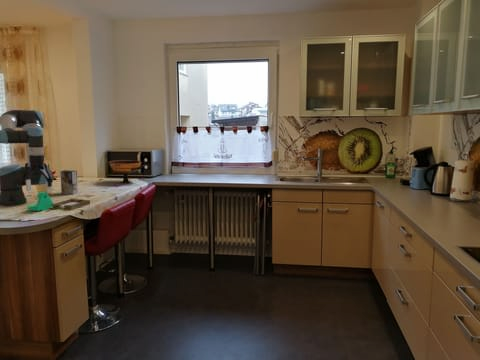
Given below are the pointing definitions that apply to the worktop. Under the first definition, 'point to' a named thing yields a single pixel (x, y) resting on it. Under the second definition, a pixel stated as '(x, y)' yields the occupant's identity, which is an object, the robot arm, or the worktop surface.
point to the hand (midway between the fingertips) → (38, 191)
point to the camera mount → (42, 202)
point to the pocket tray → (71, 204)
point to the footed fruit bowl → (125, 168)
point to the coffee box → (69, 182)
